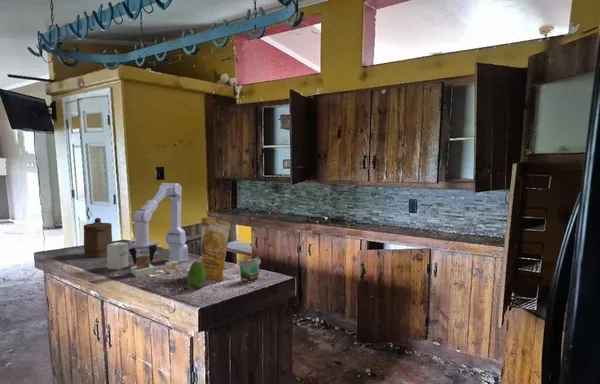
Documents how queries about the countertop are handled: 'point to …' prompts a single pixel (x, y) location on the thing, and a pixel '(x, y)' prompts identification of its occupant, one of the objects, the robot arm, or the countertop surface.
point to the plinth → (143, 271)
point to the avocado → (196, 275)
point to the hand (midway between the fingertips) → (143, 262)
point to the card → (158, 273)
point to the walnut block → (142, 262)
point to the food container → (249, 269)
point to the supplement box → (117, 256)
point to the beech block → (171, 267)
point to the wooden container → (97, 238)
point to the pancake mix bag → (214, 246)
